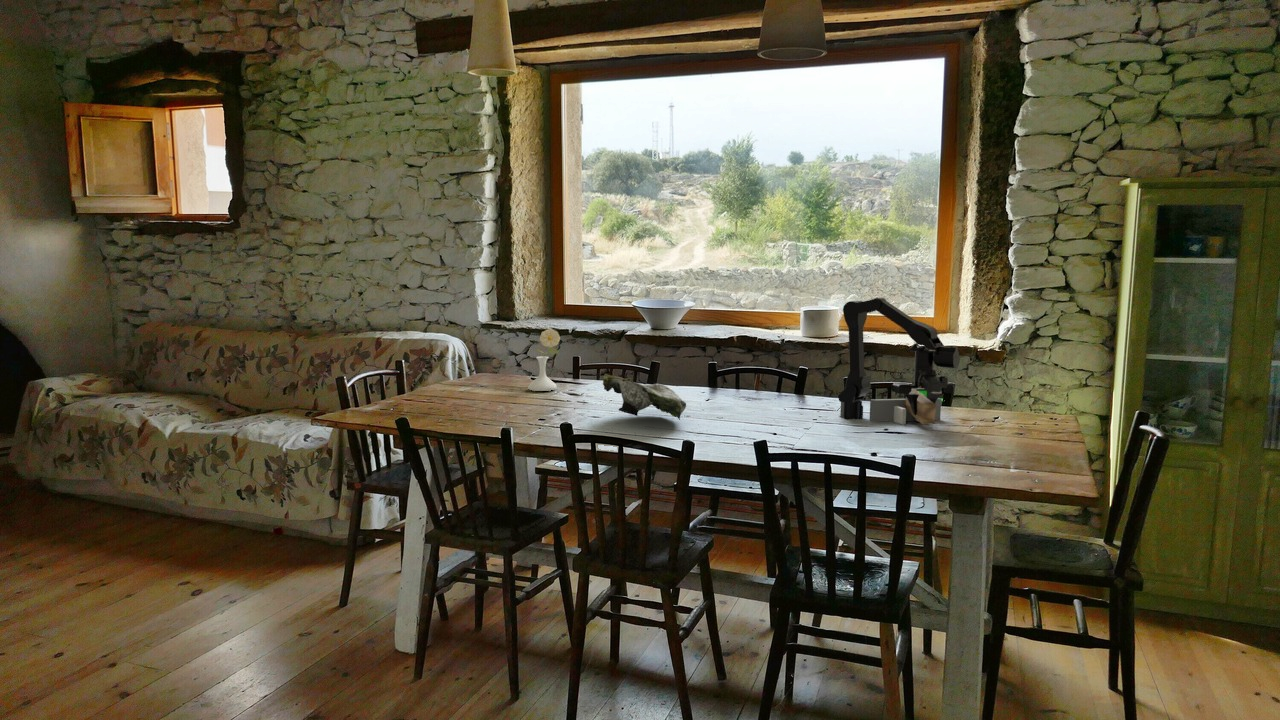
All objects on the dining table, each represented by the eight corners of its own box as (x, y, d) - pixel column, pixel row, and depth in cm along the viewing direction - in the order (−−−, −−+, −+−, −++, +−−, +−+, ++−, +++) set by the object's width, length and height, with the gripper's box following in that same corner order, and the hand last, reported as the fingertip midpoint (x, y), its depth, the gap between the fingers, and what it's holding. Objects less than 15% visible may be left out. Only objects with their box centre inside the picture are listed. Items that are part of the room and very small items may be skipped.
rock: (581, 394, 277) (597, 351, 280) (613, 419, 303) (626, 379, 307) (665, 415, 265) (679, 370, 269) (690, 439, 292) (703, 398, 296)
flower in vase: (524, 393, 339) (523, 329, 336) (532, 389, 350) (532, 327, 348) (556, 394, 337) (556, 330, 334) (564, 390, 348) (564, 328, 346)
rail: (921, 423, 270) (923, 405, 269) (905, 408, 286) (906, 391, 284) (934, 423, 270) (936, 405, 269) (917, 408, 286) (918, 391, 284)
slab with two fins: (879, 424, 279) (880, 403, 278) (869, 420, 287) (870, 399, 286) (949, 423, 283) (950, 402, 282) (937, 418, 290) (938, 398, 290)
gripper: (908, 369, 265) (905, 419, 266) (964, 368, 268) (962, 418, 269) (892, 365, 276) (889, 413, 277) (946, 364, 279) (944, 412, 280)
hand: (921, 414), depth 276 cm, fingers closed on rail, 4 cm apart
